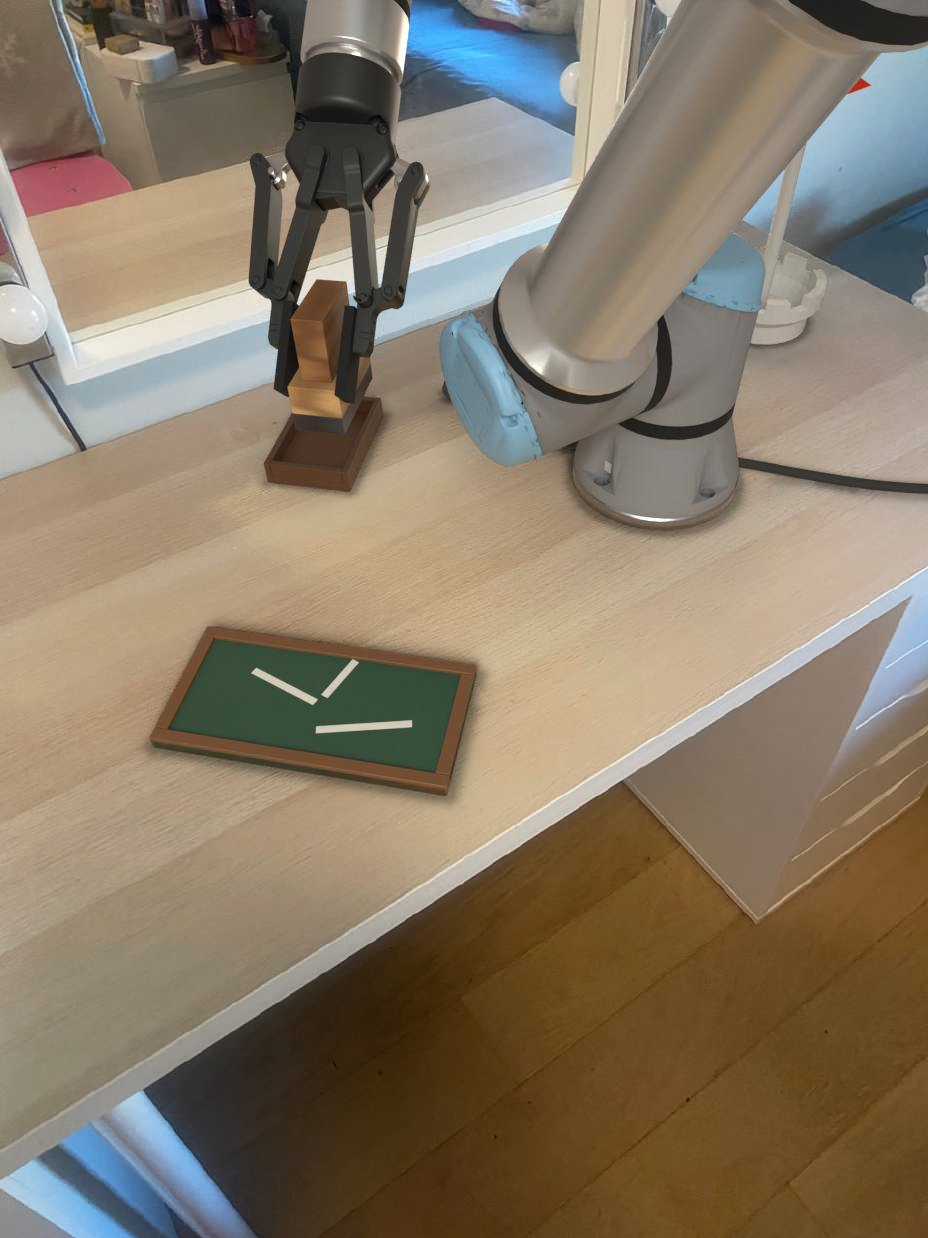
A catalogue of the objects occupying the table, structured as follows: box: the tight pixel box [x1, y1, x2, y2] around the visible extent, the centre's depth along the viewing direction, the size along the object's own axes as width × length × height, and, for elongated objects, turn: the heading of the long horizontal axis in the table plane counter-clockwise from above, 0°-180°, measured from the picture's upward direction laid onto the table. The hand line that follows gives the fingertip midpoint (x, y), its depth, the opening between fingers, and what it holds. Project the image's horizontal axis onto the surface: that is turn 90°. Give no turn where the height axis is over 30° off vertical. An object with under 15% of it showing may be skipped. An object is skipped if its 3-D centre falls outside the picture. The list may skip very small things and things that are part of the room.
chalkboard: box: [149, 625, 477, 797], centre depth 67 cm, size 22×11×1 cm, turn 79°
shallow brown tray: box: [263, 395, 384, 493], centre depth 88 cm, size 8×12×2 cm
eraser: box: [287, 278, 373, 435], centre depth 68 cm, size 4×8×9 cm, turn 168°
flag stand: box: [750, 77, 872, 346], centre depth 92 cm, size 13×13×30 cm
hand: (314, 395), depth 67 cm, fingers closed on eraser, 4 cm apart
